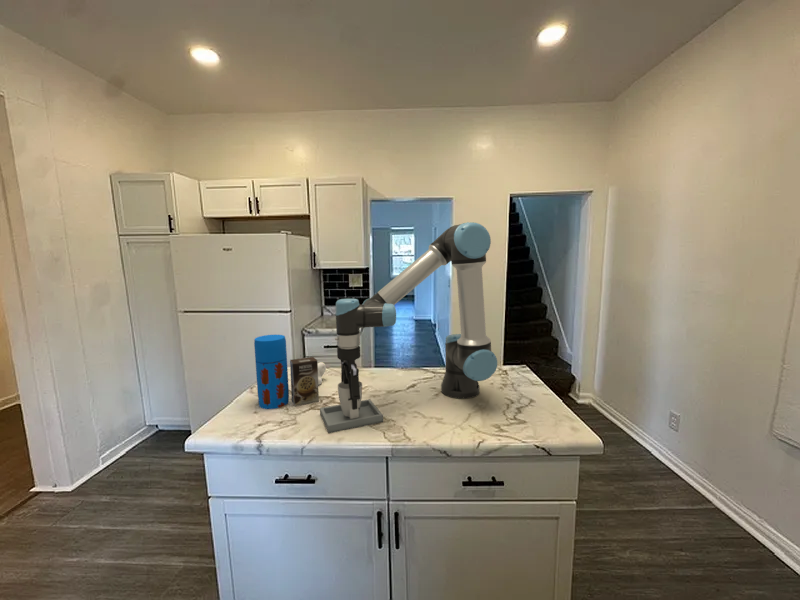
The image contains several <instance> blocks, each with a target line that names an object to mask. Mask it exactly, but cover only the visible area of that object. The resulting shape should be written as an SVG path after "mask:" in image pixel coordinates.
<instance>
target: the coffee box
mask: <svg viewBox="0 0 800 600" xmlns="http://www.w3.org/2000/svg"><path fill="white" fill-rule="evenodd" d="M289 362H290V363H289V365H290V366H289V367H290V390H291V392H290V393H291V394H290V395H291V402H292V404H293V406H294V407H299V406H302V405H303V406H304V405H308V404H314V403H315V404H316V403H318V402H320V398H319V396H320V395H319V393H320V392H319V385H318V363H319V362H318V360H317V359H316V357H315V356H311V357H310V356H309V357H302V358H296V359H295V358H294V359H290V360H289Z"/></svg>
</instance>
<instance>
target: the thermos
mask: <svg viewBox="0 0 800 600" xmlns="http://www.w3.org/2000/svg"><path fill="white" fill-rule="evenodd" d="M253 340H254V342H253V343H254V344H253V345H254V359H255V371H256V372H255V374H256V387H257V398H258V404H259V408H261V409H263V410H276V409H279V408H282V407H283V408H284V407H285V406H286V405H287V404H289V403H290V399H289V398H290V392H289V391H290V390H289V388H290V386H289V373H288V371H289V368H288V354H287V341H286V340H287V339H286V336H285V335H283V334H266V335H260V336H257V337H255V338H254V339H253Z"/></svg>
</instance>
